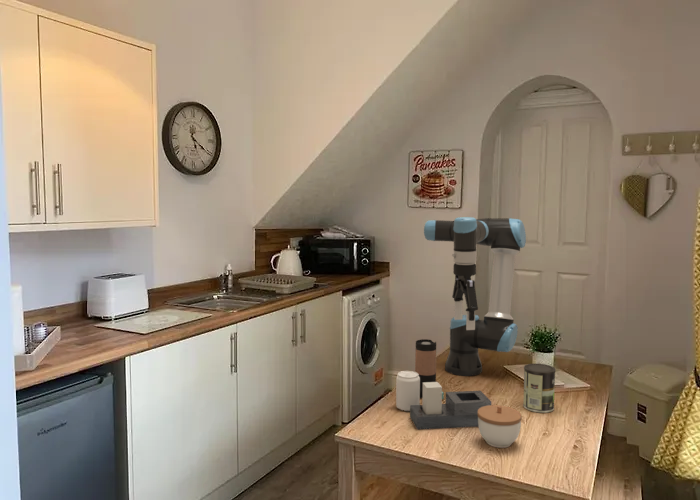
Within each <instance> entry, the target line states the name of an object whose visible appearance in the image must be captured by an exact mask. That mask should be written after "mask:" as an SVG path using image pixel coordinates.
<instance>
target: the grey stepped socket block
mask: <svg viewBox="0 0 700 500" xmlns="http://www.w3.org/2000/svg"><path fill="white" fill-rule="evenodd" d="M488 405H492V400H491V399H490V398H488V397H487V395H486V394H484V392H483V391H482V390H463V391H445V403H442V414H429V415H425V414H424V413H423V411H422V404H420V405H410V411H409V417H410V419H411V421H412V423H413V425H414V427H415V428H416V430H419V431H421V430H436V429H438V430H439V429H455V428H456V429H457V428H472V427H473V428H475V427H478V415H477V413H478V409H479V408H481V407H483V406H488ZM478 428H479V427H478Z"/></svg>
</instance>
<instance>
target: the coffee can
mask: <svg viewBox="0 0 700 500" xmlns="http://www.w3.org/2000/svg"><path fill="white" fill-rule="evenodd" d="M523 370H524V371H523V374H524V376H523V406H522V407H524V409H526V410H527V411H530V412H533V413H540V414H541V413H542V414H548V413H551V412H553V411H554V410H555V389H556V388H555V384H556V383H555V382H556V368H555V367H553V366H552V365H549V364H546V363H528V364H527V363H526V364H525V365H524V366H523Z"/></svg>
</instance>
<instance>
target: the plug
mask: <svg viewBox="0 0 700 500" xmlns="http://www.w3.org/2000/svg"><path fill="white" fill-rule="evenodd" d="M444 394H445V393H444V391H443V387H442V385H441V384H440V383H439V381H436V382H423V398H421V399H422V400H421V401H422V404H421V405H422V411H423V413H424V414H425V415H429V414H442V404H443V400H445V398H444V397H445V395H444Z"/></svg>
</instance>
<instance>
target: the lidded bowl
mask: <svg viewBox="0 0 700 500" xmlns="http://www.w3.org/2000/svg"><path fill="white" fill-rule="evenodd" d="M477 415H478V431H479V433H480V436H481V438H483V440H485V442H486V444H488V445H489V446H490V447H494V448H500V449H504V448H509V447H511V446H512V444H513V443H515V441H516V440H517V439H518V437H519V434H520V432H521V427H522V418H523V417H522V414H521V412H520V411H519V410H517V409H515V408H512V407H509V406H505V405H501V404H500V405H499V404H491V405H488V406H483V407H481V408H479V409H478V413H477Z"/></svg>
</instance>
